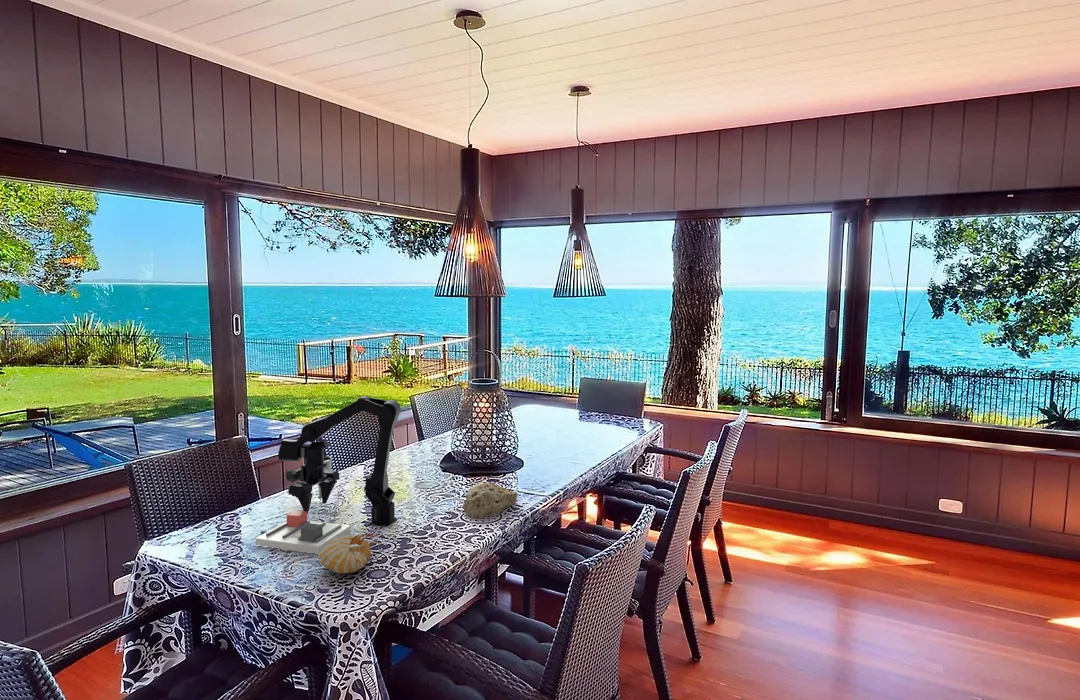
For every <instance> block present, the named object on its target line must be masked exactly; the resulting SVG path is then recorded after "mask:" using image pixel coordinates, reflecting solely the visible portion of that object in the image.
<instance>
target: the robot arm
mask: <svg viewBox="0 0 1080 700" xmlns="http://www.w3.org/2000/svg"><path fill="white" fill-rule="evenodd" d="M401 411H402V407H401V404H400V403H399V402H398V401H397V400H394V399H389V400H385V399H380V398H374V397H369V396H366V395H363V396H361V397H359V398H358V399H356V400H355V401H353V402H352V403H350V404H348V405H347V406H344V407H342V408H341V409H338V410H337V411H336V412H334V413H332V414H331V415H327V416H325V417H321V418H318V419H316V420H313V421H310V422H308V423H307V424H306V425H304V426H303V427H302V428H301V433H300V435H299V437H298V439H288V438H284V439H282V440H280V441H281V442H280V443H281V444H280V445H279V450H278V452H277V457H278V460H279V461H280V462H300V461H301V459H303V458H304V464H302V465H301V466H300V468H299V469H296V470H295V469H293V468H292V469H289V470H287V471H286V472H285V479H286V481H288V482H290V483H291V485H290V486H289V487H288V489H287V492H288V496H292V497H294V498H296V499H297V500H298V501H299V503H300V506H301V508H302V511H306V512H307V514H309V511H310V509H311V508H310V507H311V504H312V503H311V499H313V494H314V493H313V487H315V486H318V484H319V485H320V487H321V496H322V503H321V504H322V505H323V504H324V505H325V504H327V503H328V502H327V500H328V498H329V497H330V496H331V493H332V492H333V489H334V487H335V485H336V484H337V483H338V480H340V472H338V470H334V469H331V470H324V467H325V466H327V463H325V462H324V456H325V454H324V453H325V452H324V449H327V448H329V447H330V445H331V443H330V442H328V441H327V439H325V438H324V439H322V440H321V441H317V440H319V439H320V438H321V437H323V436H325V435H326V434H327V433H328V432H329V431H330V430H332V429H333V428H334V427H335V426H338V425H339V424H340V423H342V422H344V421H346V420H348V419H349V418H351V417H353V416H354V415H357V414H359V413H360V412H366V413H368V414H370V415H372V416H375V417H377V421H378V427H379V430H378V431H379V432H378V439H377V444H376V445H377V446H376V450H375V452H376V453H375V457H374V464H373V470H372V472H370V473H369V474H367V476H366V478H365V485H364V488H363V492H364V493H365V497H366V499H368V500H369V501H370V503H371V506H372V507H371V510H370V511H371V512H370V513H371V515H370V516H371V518H370V519H371V521H369V524H370V525H374V526H375V525H376V526H386V527H388V526H390V525H391V524H393V523H394V522H396V521H397V520H398V517H397V516H396V515H395V514H396V513H395V512H396V511H395V501H393V500H394V498H395V495H396V492H395V491H394V490H393V489H392V488H391V487H390V486H389V476H388V465H389V464H388V463H389V459H390V452H391V445H392V440H393V433H394V428H395V426H396V424H397V422H398V420H399V416H400V414H401ZM297 481H300V482H297ZM294 482H295V483H294Z"/></svg>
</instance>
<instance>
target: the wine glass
mask: <svg viewBox="0 0 1080 700" xmlns="http://www.w3.org/2000/svg"><path fill="white" fill-rule="evenodd" d="M324 462H325V463H327V466H325V467H324V470H332V457H331V456H329V455H324ZM317 486H318V497H317V496H316V497H317V498H316V497H314V498H315V499H314V501H322V496H321V487H320V485H319V484H317Z"/></svg>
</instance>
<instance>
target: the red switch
mask: <svg viewBox="0 0 1080 700" xmlns="http://www.w3.org/2000/svg"><path fill="white" fill-rule="evenodd" d="M286 521H287V526H292V527H298V526H300V525H302V524H304V523H305V522H307V521H308V513H307V512H306V511H303V510H297V509H294V510H292V511H291V512H289V513H287V514H286Z"/></svg>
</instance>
